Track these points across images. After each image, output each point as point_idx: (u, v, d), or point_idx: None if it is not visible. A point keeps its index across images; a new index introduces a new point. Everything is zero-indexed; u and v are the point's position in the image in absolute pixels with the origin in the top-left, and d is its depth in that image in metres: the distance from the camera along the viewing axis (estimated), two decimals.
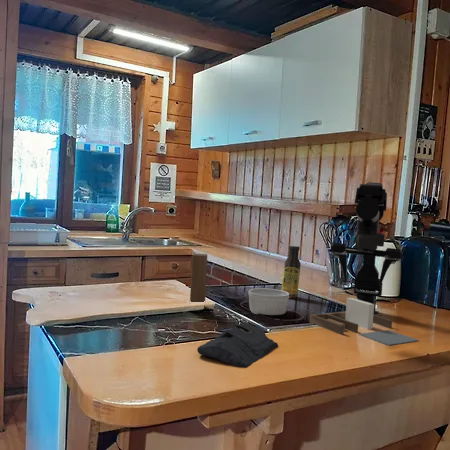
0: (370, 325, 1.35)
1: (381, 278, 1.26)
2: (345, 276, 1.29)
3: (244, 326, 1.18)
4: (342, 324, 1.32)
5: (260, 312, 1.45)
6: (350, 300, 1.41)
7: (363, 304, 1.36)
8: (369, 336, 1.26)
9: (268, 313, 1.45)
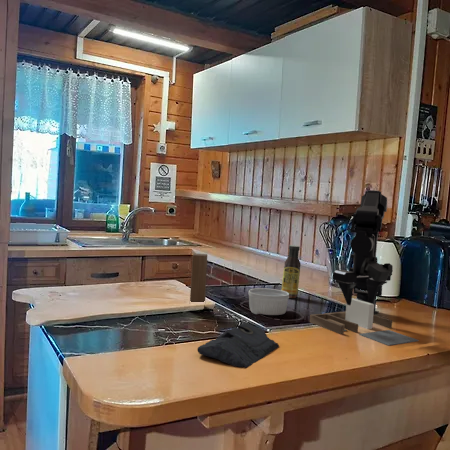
0: (371, 325, 1.35)
1: (373, 297, 1.41)
2: (350, 301, 1.36)
3: (245, 327, 1.18)
4: (342, 324, 1.32)
5: (260, 312, 1.45)
6: None
7: (363, 304, 1.36)
8: (369, 336, 1.26)
9: (268, 313, 1.45)
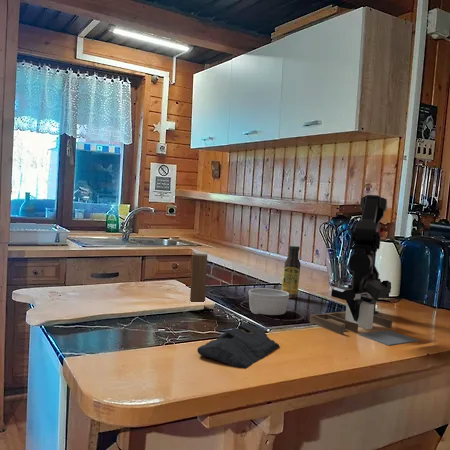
0: (371, 325, 1.35)
1: None
2: (357, 317, 1.38)
3: (245, 327, 1.18)
4: (343, 324, 1.32)
5: (260, 312, 1.45)
6: None
7: (363, 304, 1.36)
8: (369, 336, 1.26)
9: (268, 313, 1.45)
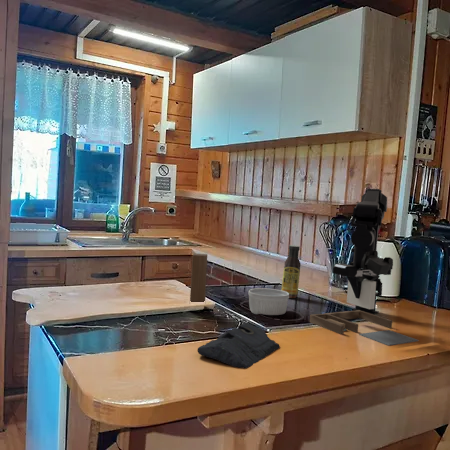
0: (372, 303, 1.35)
1: None
2: (359, 294, 1.37)
3: (245, 327, 1.17)
4: (342, 324, 1.32)
5: (260, 312, 1.45)
6: None
7: (365, 282, 1.36)
8: (369, 336, 1.26)
9: (268, 313, 1.45)
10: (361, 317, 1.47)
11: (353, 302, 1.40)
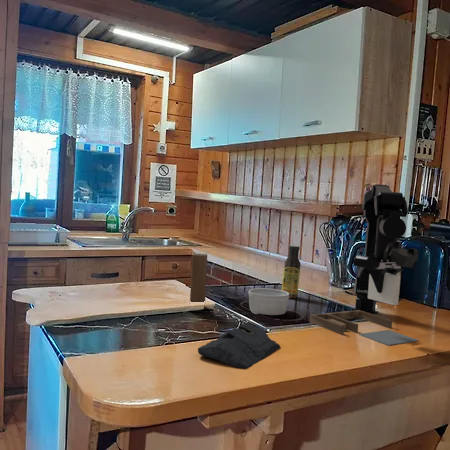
0: (396, 298, 1.26)
1: None
2: (381, 289, 1.28)
3: (246, 327, 1.17)
4: (343, 324, 1.32)
5: (260, 312, 1.45)
6: None
7: (388, 275, 1.27)
8: (369, 336, 1.26)
9: (268, 313, 1.45)
10: (361, 317, 1.47)
11: (375, 298, 1.30)
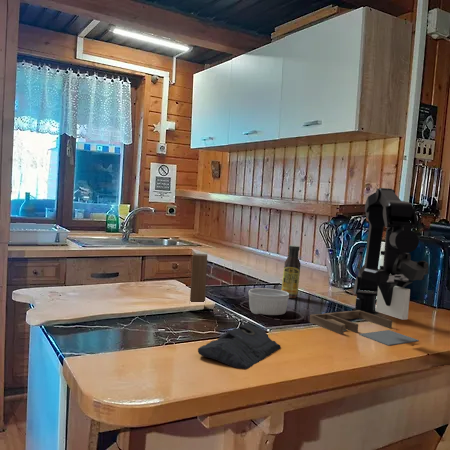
0: (406, 312, 1.23)
1: None
2: (390, 302, 1.25)
3: (246, 327, 1.17)
4: (342, 324, 1.32)
5: (260, 312, 1.45)
6: None
7: (398, 289, 1.23)
8: (369, 336, 1.26)
9: (268, 313, 1.45)
10: (361, 317, 1.47)
11: (383, 311, 1.27)
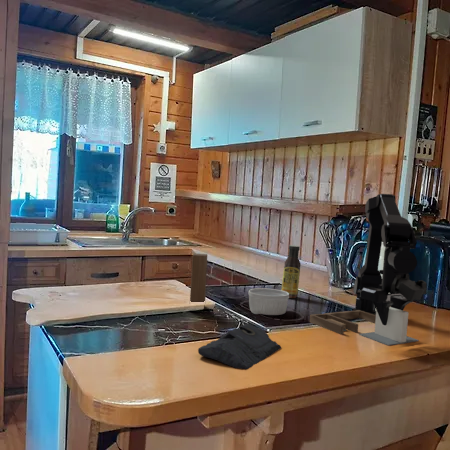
0: (404, 335, 1.23)
1: None
2: (386, 321, 1.25)
3: (247, 328, 1.17)
4: (343, 324, 1.32)
5: (260, 312, 1.45)
6: None
7: (396, 312, 1.24)
8: (369, 336, 1.26)
9: (268, 313, 1.45)
10: (361, 317, 1.47)
11: (382, 333, 1.28)
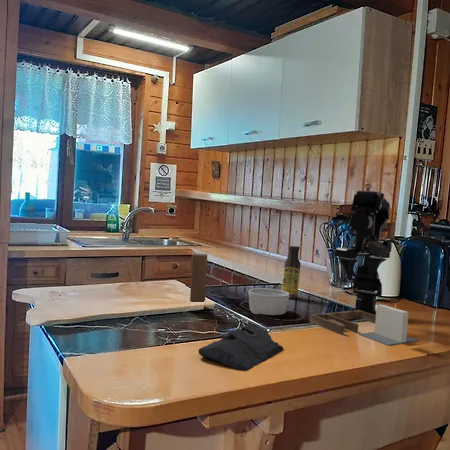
0: (404, 335, 1.23)
1: (373, 274, 1.48)
2: (352, 277, 1.44)
3: (249, 329, 1.16)
4: (342, 325, 1.32)
5: (260, 312, 1.45)
6: (381, 307, 1.28)
7: (396, 312, 1.24)
8: (369, 336, 1.26)
9: (268, 313, 1.45)
10: (361, 317, 1.47)
11: (382, 333, 1.28)
